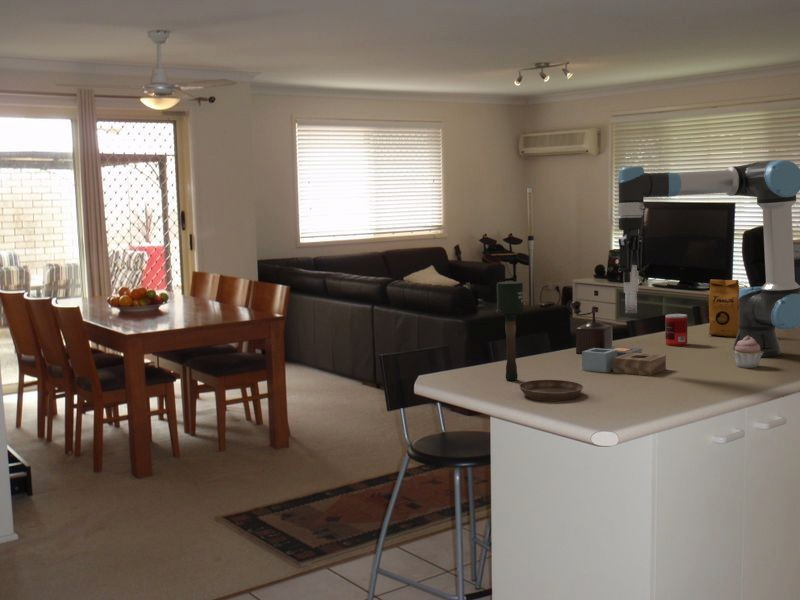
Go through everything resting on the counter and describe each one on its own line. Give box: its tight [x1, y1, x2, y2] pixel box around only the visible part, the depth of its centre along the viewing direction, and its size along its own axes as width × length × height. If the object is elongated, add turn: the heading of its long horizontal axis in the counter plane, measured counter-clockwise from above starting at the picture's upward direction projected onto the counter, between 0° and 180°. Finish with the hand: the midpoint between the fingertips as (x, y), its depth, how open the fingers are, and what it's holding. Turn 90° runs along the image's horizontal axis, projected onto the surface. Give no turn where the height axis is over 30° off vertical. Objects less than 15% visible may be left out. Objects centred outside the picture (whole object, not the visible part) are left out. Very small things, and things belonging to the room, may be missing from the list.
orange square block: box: [613, 348, 631, 352], centre depth 296 cm, size 5×5×4 cm
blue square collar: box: [581, 348, 617, 373], centre depth 286 cm, size 8×8×6 cm
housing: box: [607, 345, 643, 357], centre depth 296 cm, size 10×10×4 cm
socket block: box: [613, 352, 667, 376], centre depth 281 cm, size 12×12×4 cm
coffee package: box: [708, 278, 740, 338], centre depth 346 cm, size 10×12×22 cm
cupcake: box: [731, 336, 763, 369], centre depth 282 cm, size 9×9×10 cm
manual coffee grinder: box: [570, 300, 613, 355], centre depth 320 cm, size 16×11×18 cm
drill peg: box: [624, 265, 638, 315], centre depth 280 cm, size 4×4×15 cm
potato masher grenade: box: [495, 281, 525, 382], centre depth 272 cm, size 8×9×30 cm
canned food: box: [664, 313, 688, 347], centre depth 329 cm, size 8×8×11 cm
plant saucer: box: [518, 379, 584, 402], centre depth 250 cm, size 18×18×3 cm
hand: (631, 291), depth 280 cm, fingers closed on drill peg, 3 cm apart
